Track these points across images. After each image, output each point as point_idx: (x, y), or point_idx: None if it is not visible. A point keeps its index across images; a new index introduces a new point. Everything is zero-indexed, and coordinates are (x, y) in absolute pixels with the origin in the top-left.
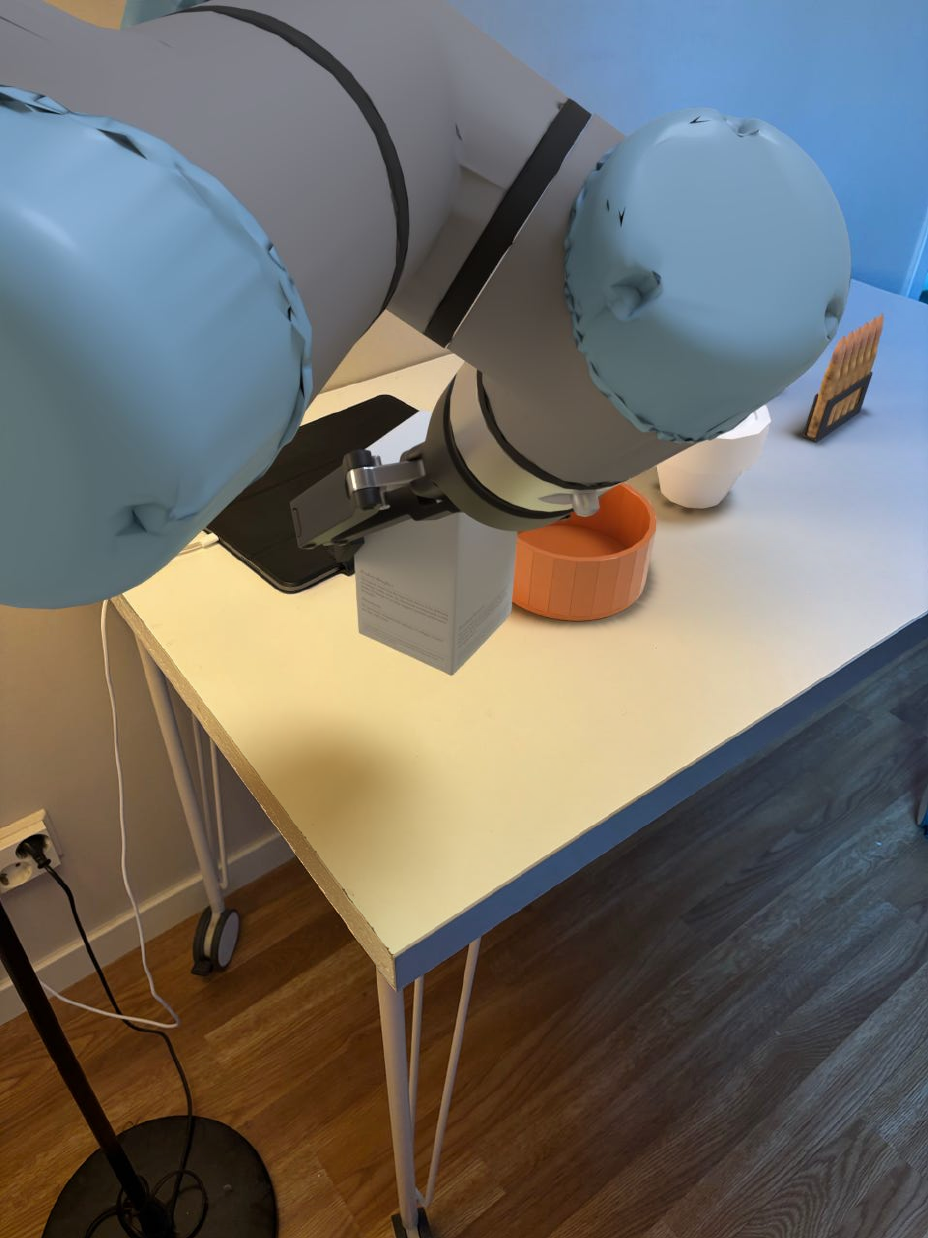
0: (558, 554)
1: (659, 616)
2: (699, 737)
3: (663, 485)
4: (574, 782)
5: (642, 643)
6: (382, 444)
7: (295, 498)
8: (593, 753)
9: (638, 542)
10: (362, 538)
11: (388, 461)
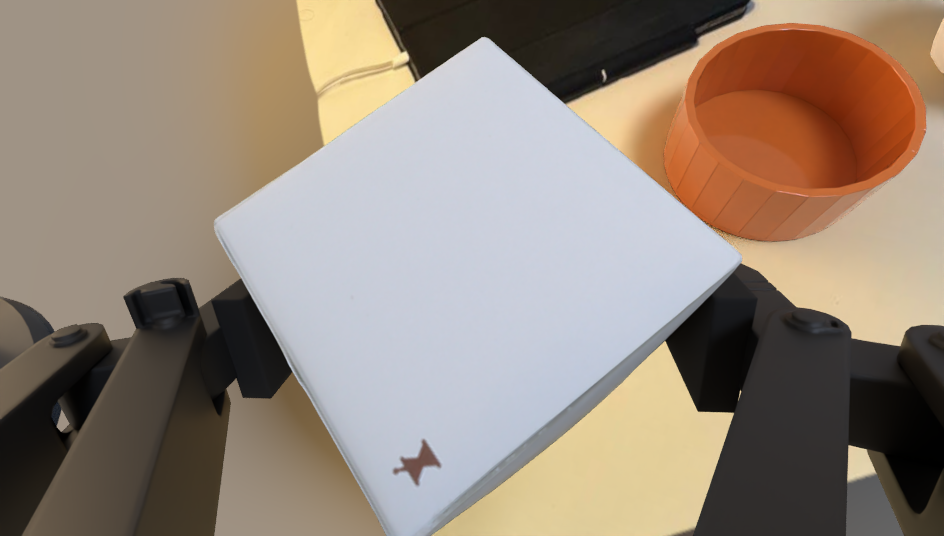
0: (754, 136)
1: (859, 254)
2: (851, 460)
3: (941, 48)
4: (666, 473)
5: (821, 291)
6: (316, 174)
7: (12, 362)
8: (703, 439)
9: (881, 173)
10: (266, 389)
11: (294, 256)
